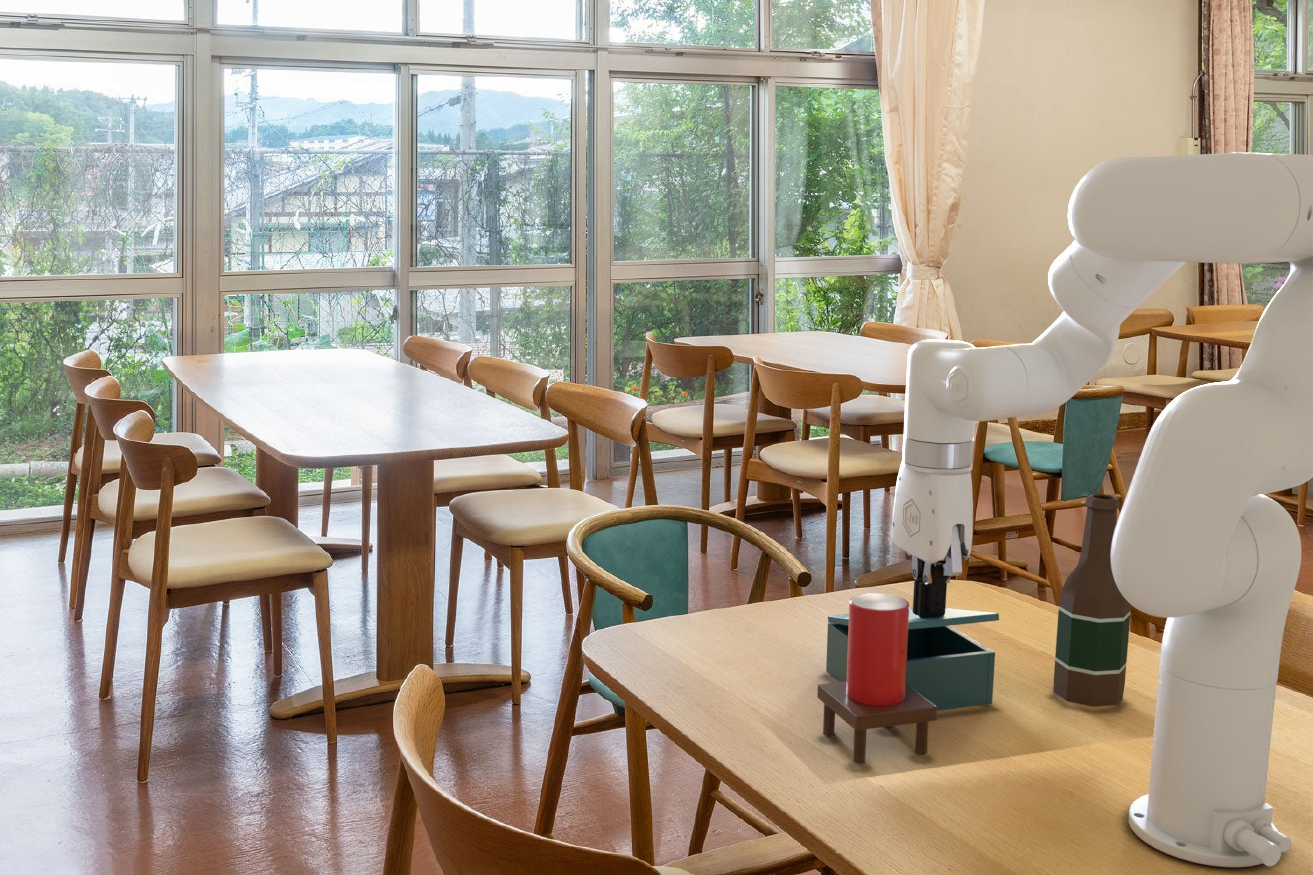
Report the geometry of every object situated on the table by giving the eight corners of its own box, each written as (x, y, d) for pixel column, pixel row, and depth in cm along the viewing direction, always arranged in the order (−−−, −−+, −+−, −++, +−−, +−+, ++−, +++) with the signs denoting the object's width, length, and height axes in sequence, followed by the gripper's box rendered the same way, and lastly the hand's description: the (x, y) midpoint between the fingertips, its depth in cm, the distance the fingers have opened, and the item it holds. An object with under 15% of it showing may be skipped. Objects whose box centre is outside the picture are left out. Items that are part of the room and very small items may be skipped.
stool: (934, 762, 129) (937, 706, 128) (854, 773, 126) (856, 716, 125) (891, 727, 138) (893, 675, 136) (815, 737, 135) (817, 684, 134)
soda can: (915, 702, 129) (920, 607, 127) (862, 708, 127) (866, 612, 125) (887, 681, 135) (891, 590, 133) (836, 687, 133) (839, 595, 131)
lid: (999, 620, 140) (999, 613, 141) (889, 631, 136) (889, 624, 136) (929, 612, 155) (928, 605, 155) (827, 622, 151) (827, 615, 151)
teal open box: (991, 709, 143) (995, 652, 142) (883, 723, 139) (886, 664, 137) (926, 665, 156) (928, 612, 155) (825, 677, 152) (827, 622, 151)
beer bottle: (1128, 716, 141) (1145, 506, 137) (1056, 709, 143) (1070, 502, 139) (1118, 690, 149) (1133, 490, 145) (1049, 684, 150) (1062, 487, 146)
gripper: (874, 443, 144) (867, 597, 147) (943, 470, 130) (933, 640, 134) (932, 440, 146) (924, 592, 150) (1006, 466, 132) (995, 633, 136)
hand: (928, 614), depth 142 cm, fingers closed
